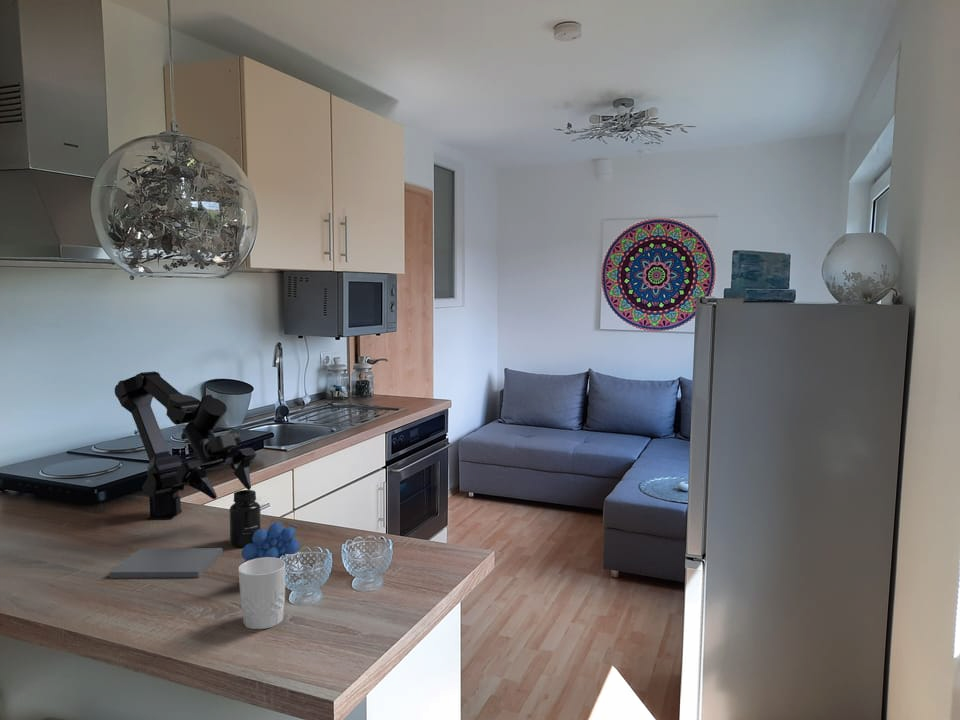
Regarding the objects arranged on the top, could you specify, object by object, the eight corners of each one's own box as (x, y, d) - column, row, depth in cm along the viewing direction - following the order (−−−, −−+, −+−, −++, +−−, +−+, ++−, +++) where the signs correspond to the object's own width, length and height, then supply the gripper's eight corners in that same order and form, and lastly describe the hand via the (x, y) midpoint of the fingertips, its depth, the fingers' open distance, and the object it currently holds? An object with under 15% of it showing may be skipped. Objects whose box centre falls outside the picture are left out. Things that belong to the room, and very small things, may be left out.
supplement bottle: (251, 549, 150) (249, 497, 149) (224, 547, 152) (222, 495, 151) (266, 538, 157) (265, 489, 156) (240, 536, 158) (239, 487, 157)
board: (109, 577, 135) (109, 572, 135) (141, 553, 148) (141, 548, 147) (198, 577, 135) (198, 571, 135) (222, 553, 148) (222, 548, 148)
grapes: (294, 568, 139) (293, 512, 138) (303, 579, 134) (302, 522, 133) (236, 580, 133) (234, 522, 132) (243, 593, 128) (241, 532, 127)
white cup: (293, 610, 120) (291, 557, 120) (278, 632, 113) (276, 575, 112) (250, 609, 121) (248, 556, 120) (232, 631, 113) (230, 574, 112)
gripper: (179, 427, 150) (210, 482, 144) (250, 415, 165) (280, 464, 160) (162, 456, 155) (191, 511, 150) (232, 443, 170) (260, 491, 165)
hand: (233, 493), depth 156 cm, fingers open, 9 cm apart
